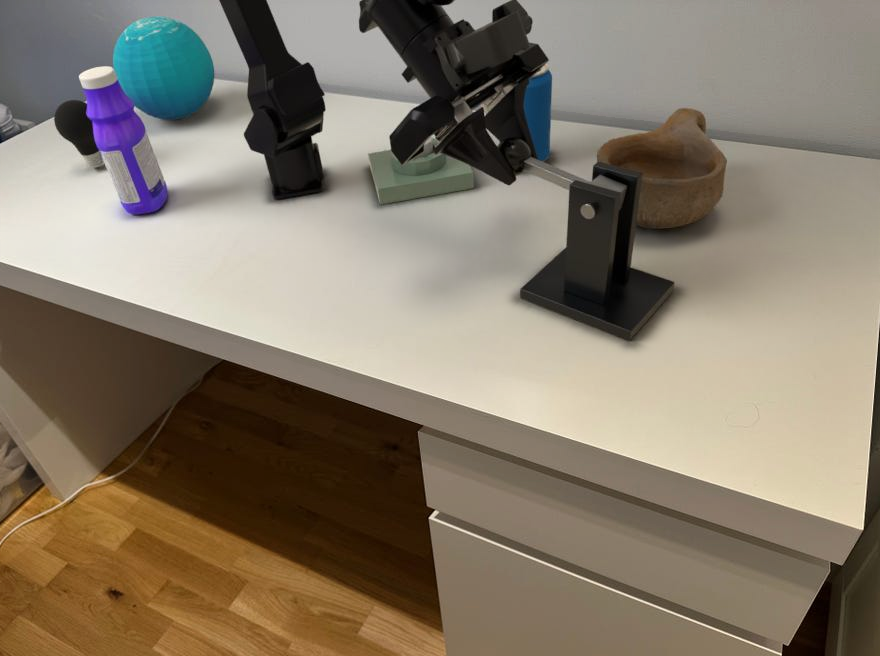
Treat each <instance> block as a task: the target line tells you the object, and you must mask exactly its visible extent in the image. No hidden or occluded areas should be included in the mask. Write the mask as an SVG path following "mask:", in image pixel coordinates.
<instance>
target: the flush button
mask: <svg viewBox="0 0 880 656" xmlns="http://www.w3.org/2000/svg"><path fill="white" fill-rule="evenodd" d="M432 138H433V137H432V136H430V138H429V139H428V140H427V141H426V142H425V144H424V152H423V153H422V154H421V155H419V156H417V157H416V158H420V157H425V156H428V155H430V154H432V153H433V152H432V151H433V142H432Z"/></svg>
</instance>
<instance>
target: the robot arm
mask: <svg viewBox="0 0 880 656" xmlns="http://www.w3.org/2000/svg"><path fill="white" fill-rule="evenodd" d="M455 1H456V0H359V3H358V5H359V11H360V12H359V17H358V29H359V32H360V33H362V34H365V33H367V32H369V31H371V30H374V29H375V28H378V29H379V30H380V31H381V33H382V34H383V36H384V37H385V39H386V40H387V41H388V43H389V44H390V45H391V47H392V48H393V49H394V51H395V52H396V54H397V55H398V56H399V58H400V59H401V60H402V62H403V63H404V64H405V66H406V68H405V69H404V70H403V72H402V73H401V76H402V77H403V79H404V80H405V82H407V83H410V82H412V81H414V80H416V81H417V82H418V83H419V85H420V86H421V87H422V89H423V90H424V92H425V93H426V94H427V96H428V97H429V98H428V99H427V100H425V101H423V102H421V103H420V104H418V105H416V106H415V107H413V108H412V109H410V111H409V112H408V113H407V114H406V115H405V117H404V118H403V119H402V120H401V121H400V123H399V124H397V126H396V127H395V129H394V130H393V131H392V132H391V133H390V135H389V136H388V137H389V144H390V145H389V146H390V150H391V151H392V153H393V154H394V155H395V157H396V158H397V159H398V161H399V162H400V163H401V165H405V164H407V163H408V162H410V161H411V160H413V159H414V158H416V157H417V156H419V155H421V154H422V153H423V152H424V144H425V142H426V141H427V140H428V139H429V138H430V136H431V137H432V136H434V139H436V140H437V141H438V143H439V145H438V146H437V147H436V148H435V149H434V150H433V151H432V152H433V153H434V154H435V155H438V154H439V153H442V154H445V155H447V156H450V157H452V158H454V159H457V160H459V161H461V162H464V163H466V164H468V165H470V167H471V168H474V169H476V170H478V171H479V172H482V173H484V174H486V175H487V176H489V177H491V178H493V179H495V180H497V181H499V182H500V183H502V184H504V185H507V186H511V185H512V184H514V183H515V182H516V181H517V176H515V174H514V172H513V171H512V169H511V167H510V165H509V164H508V162H507V161H506V159H505V158H504V156H503V154H502V153H501V151H500V150H499V148H498V147H497V145H498V144H496V142H495V141H494V140H493V138H492V136H494V138H495V139H497V141H500V142H501V141H503V140H504V139H507V138H511V137H515V138H519V139H522V140H523V141H524V142H526V143H527V145H528V146H529V148H530V151H531V157H532V158H535V159H537V160H538V156H537V153H536V150H535V146H534V143H533V140H532V137H531V133H530V130H529V127H528V123H527V119H526V115H525V110H524V98H525V92H526V88H527V87H528V86H529V85H530V79H531V78H532V77H533V76H534V75H535V74H536V73H537V72H538V71H539V70H540V69H541V68H542V67H543V66H544V65H545V64H546V63H548V62H549V61H550V59H549V57H548V55H546V53H545V52H544V50H543V49H542V47H541V46H540V45H539V44H538V43H534V42H530V41H529V38H528V35H529V34H530V33H531V31H532V28H533V21H534V19H533V18H532V16H530V15H529V13H528V11H527V10H526V9H525V8H524V6H522V5H521V3H520V2H519V1H518V0H509V1H507V2H505V3H503V4H500V5H499V6H497V7H495V8H493V9H492V13H491V22H489V23H487V24H485V25H483V26H481V27H479V28H477V29H475V28H474V27H473V26H472V25H471V23H470V22H469V21H467V20H465V19H464V18H462V19H461V20H459V21H457V22H454V21H453V20H452V18H451V17H450V15H449V14H448V13H447V12H446V10H445V8H444V7H443V6H449V5H451V4H453V3H454V2H455ZM218 2H219V4H220V6H221V8H222V10H223V12H224V15H225V17H226V20H227V21H228V23H229V26H230V28H231V30H232V33H233V35H234V37H235V40H236V42H237V44H238V46H239V49H240V52H241V53H242V56H243V58H244V60H245V62H246V65H247V68H248V75H247V76H248V79H247V91H246V97H247V100H248V103H249V106H250V109H251V111H252V117H251V118H250V121H249V123H248V125H247V126H246V128H245V130H244V132H243V137H244V140H245V141H246V143H247V145H248V147H249V150H250V151H251V152H255V153H258V154H261V155H263V157H264V161H265V164H266V168H267V171H268V175H269V180H270V183H271V192H272V193H271V194H272V195H271V196H272V199H274V200H280V199H285V198H291V197H297V196H302V195H309V194H314V193H320V192H322V191H323V181H324V180H325V173H324V168H323V163H322V158H321V154H320V149H319V144H318V143H317V142H313V139H312V138H313V137H314V136H315V135H317V134H320V133H322V132H323V129H324V116H325V115H324V114H325V112H326V109H327V108H326V103H325V99H324V96H325V92H324V90H323V89H322V87H321V85H320V83H319V82H318V78H317V75H316V71H315V67H313V66H312V64H311V63H310V62H308V61H307V62H305V63H303V64H302V63H301V62H300V61H299V60H298V59H297V58H296V57H294V56H293V55H292V54H291V53H290V52H289V50H288V48H287V47H286V44H285V41H284V40H283V37H282V35H281V32H280V29H279V27H278V24H277V23H276V20H275V17H274V15H273V12H272V10H271V7H270V5H269V3H268V1H267V0H218ZM478 107H480V108H478ZM476 108H478V109H476ZM475 109H476V110H475ZM474 110H475V111H474ZM490 134H491V135H492V136H491V135H490Z"/></svg>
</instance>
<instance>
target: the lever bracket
mask: <svg viewBox="0 0 880 656" xmlns="http://www.w3.org/2000/svg"><path fill="white" fill-rule="evenodd" d="M591 175H592V177H591V182H592V181H593V180H594V179H595V178H596V177H598V176H599V175H602V176H605V177H607V178H609V179H612V180H614V181H617V182H619V183H622V184H624V185H626V186H627V190H626V193H625V197H624V201H623V204H622V208H621V209H620V210H619V204H620V195H621V192H617V191H614V190H610V189H606V188H603V187H599V186H595V185H592V184H588V183H585V182H581V181H577V180H575V181H574V182H572V183H571V184H570V188H569V190H568V209H567V210H568V211H567V225H566V243H565V245H566V246H565V248H564V249H563V250H561V251H560V252H559V253H558V254H557V255H556V256H555V257H554V258H553V259H552V260H550V261H549V262H548V263H547V264H546V265H544V267H543V268H541V269H540V270H539V271H538V272H537V273H536V274H535V275H534V276H533V277H532V278H530V280H528V281H527V282H526V283H525V284H524V285H523V286H522V287H521V288H519V289H520V290H519V298H520V299H522V300H525V301H527V302H529V303H532V304H533V305H536V306H540V307H542V308H544V309H547V310H550V311H551V312H554V313H557V314H560V315H563V316H565V317H568V318H570V319H573V320H575V321H578V322H581V323H583V324H585V325H587V326H590V327H593V328H595V329H598V330H600V331H602V332H605V333H608V334H611V335H613V336H615V337H618V338H621V339H622V340H626V341H628V342H630V341H631V340H632V339H633V338H634V336H636V334H637V333H638V332H639V331H640V330H641V329H642V327H643V326H644V325H645V324H646V323H647V322H648V320H649V319H651V317H652V316H653V315H654V314H655V313H656V312H657V310H658V309H659V308H660V307H661V306H662V305H663V303H664V302H665V301H666V300H667V299H668V297H670V295H672V293H673V292H674V288H675V281H674V280H670V279H668V278H664V277H661V276H658V275H656V274H653V273H649V272H647V271H643V270H640V269H638V268H634V267H632V259H633V253H634V243H635V236H636V229H637V225H636V222H637V214H638V206H639V199H640V191H641V183H642V175H643V173H642V172H638V171H634V170H631V169H627V168H623V167H619V166H615V165H611V164H607V163H603V162H597V161H596V163H594V164H593V165H592V174H591Z"/></svg>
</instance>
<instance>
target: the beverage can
mask: <svg viewBox="0 0 880 656" xmlns="http://www.w3.org/2000/svg"><path fill="white" fill-rule="evenodd" d="M552 94H553V74H552V72H551V71H550V65H549V63H548V62H547V63H546V64H545V65H544V66H543V67H542V68H541V69H540V70H539V71H538V72H537V73H536V74H535V75H534V76H533V77H532V78H531V79H530V85H529V86H528V87H527V88H526V92H525V98H524V110H525V115H526V119H527V123H528V127H529V130H530V133H531V137H532V140H533V143H534V146H535V150H536V153H537V156H538V160H540V161H542V162H545V161H546V160H548V158H549V157H550V154H551V126H552V125H551V123H552V96H553V95H552ZM498 141H499V140H498ZM499 143H500V141H499ZM499 143H498V144H499Z"/></svg>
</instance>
